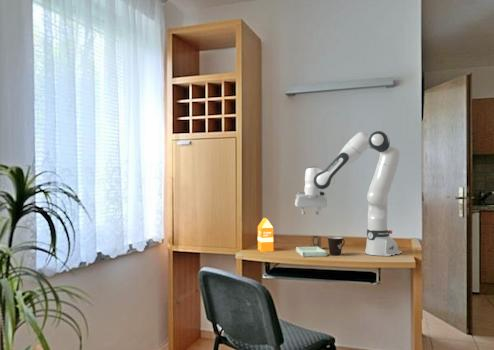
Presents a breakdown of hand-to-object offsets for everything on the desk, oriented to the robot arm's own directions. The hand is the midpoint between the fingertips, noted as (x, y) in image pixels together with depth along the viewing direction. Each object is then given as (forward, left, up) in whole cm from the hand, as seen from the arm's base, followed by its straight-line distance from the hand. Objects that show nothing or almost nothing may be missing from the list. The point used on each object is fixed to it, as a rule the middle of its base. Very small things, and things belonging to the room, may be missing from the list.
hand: (310, 214), depth 267 cm
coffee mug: (-1, +23, -22) cm, 32 cm away
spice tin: (-3, +1, -22) cm, 22 cm away
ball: (-3, +1, -20) cm, 20 cm away
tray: (+10, +12, -22) cm, 27 cm away
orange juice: (+27, -11, -22) cm, 36 cm away
